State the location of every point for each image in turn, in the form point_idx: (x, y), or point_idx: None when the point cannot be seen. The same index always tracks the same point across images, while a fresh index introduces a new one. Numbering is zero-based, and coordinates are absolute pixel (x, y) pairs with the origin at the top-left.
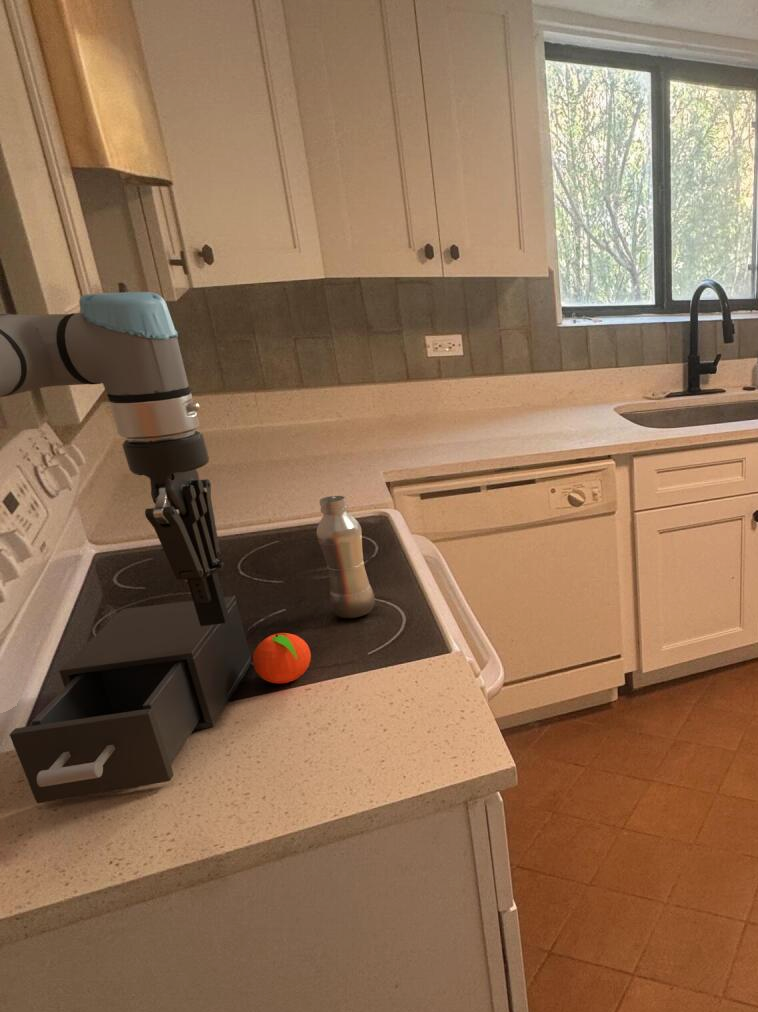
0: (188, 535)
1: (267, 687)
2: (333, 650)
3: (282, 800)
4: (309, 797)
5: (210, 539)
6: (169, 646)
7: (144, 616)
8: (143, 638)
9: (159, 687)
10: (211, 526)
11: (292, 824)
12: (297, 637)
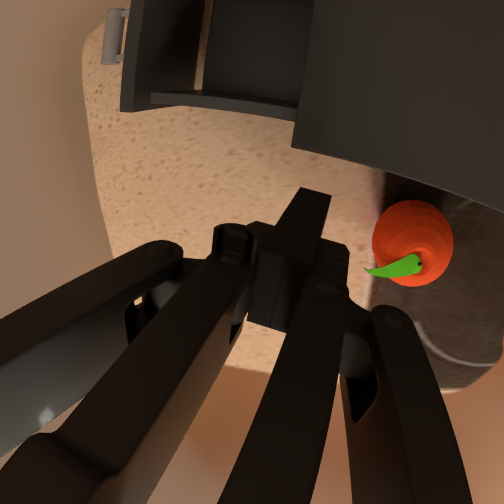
0: (52, 419)
1: (402, 199)
2: (458, 288)
3: (132, 208)
4: (131, 228)
5: (352, 428)
6: (354, 99)
7: None
8: (433, 48)
9: (203, 101)
10: (352, 490)
11: (104, 215)
12: (413, 284)
